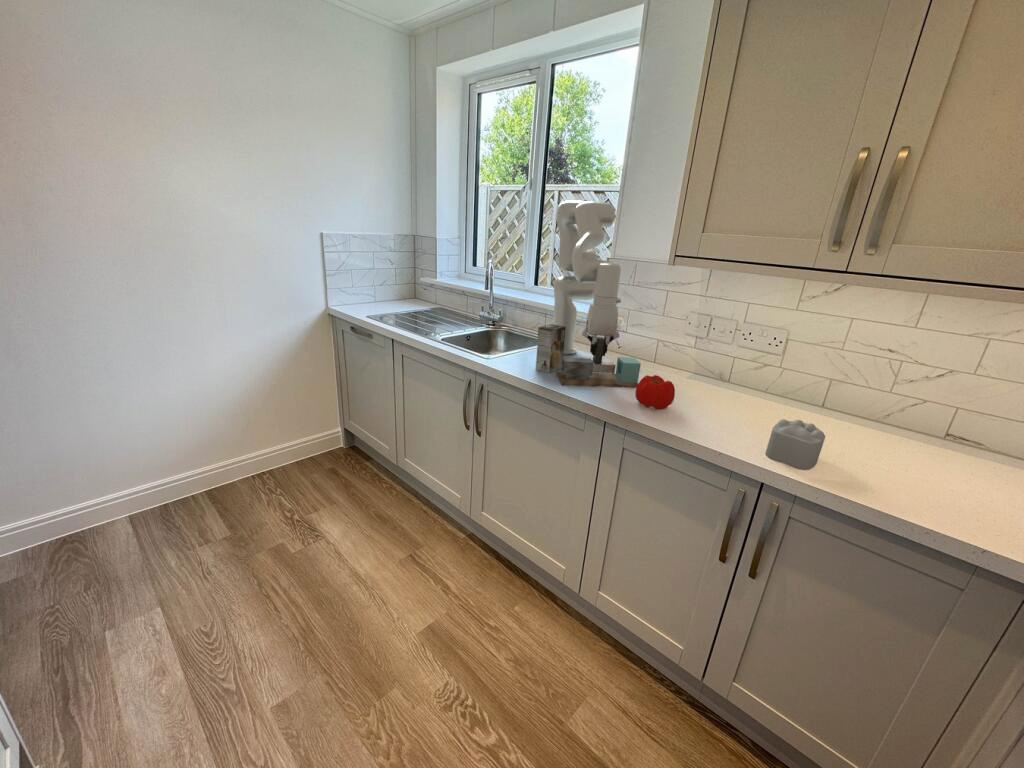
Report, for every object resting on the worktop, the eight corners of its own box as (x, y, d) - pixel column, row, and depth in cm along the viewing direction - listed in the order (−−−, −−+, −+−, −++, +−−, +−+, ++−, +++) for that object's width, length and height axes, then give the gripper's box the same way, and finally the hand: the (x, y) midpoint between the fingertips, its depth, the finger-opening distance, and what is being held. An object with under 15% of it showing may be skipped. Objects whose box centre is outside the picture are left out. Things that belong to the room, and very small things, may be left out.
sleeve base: (561, 385, 150) (563, 364, 148) (556, 373, 162) (558, 354, 159) (639, 388, 152) (642, 367, 150) (629, 376, 164) (632, 357, 161)
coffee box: (548, 364, 172) (551, 323, 167) (562, 368, 169) (566, 326, 164) (534, 369, 166) (538, 326, 160) (549, 373, 162) (553, 330, 157)
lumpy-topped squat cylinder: (760, 455, 110) (769, 424, 107) (777, 441, 119) (786, 411, 116) (808, 473, 103) (819, 439, 100) (823, 456, 112) (833, 425, 109)
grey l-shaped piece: (569, 371, 154) (572, 337, 150) (567, 368, 157) (571, 335, 153) (614, 373, 155) (619, 339, 151) (612, 370, 158) (616, 337, 154)
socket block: (620, 382, 154) (623, 362, 152) (615, 375, 160) (617, 357, 158) (637, 382, 154) (640, 363, 152) (631, 376, 161) (634, 357, 159)
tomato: (627, 400, 141) (631, 373, 138) (660, 399, 144) (665, 372, 141) (644, 414, 131) (649, 385, 128) (680, 412, 134) (685, 384, 131)
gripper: (625, 300, 152) (618, 352, 158) (578, 298, 151) (572, 350, 157) (632, 304, 145) (624, 358, 151) (582, 302, 143) (576, 356, 150)
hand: (598, 354), depth 154 cm, fingers open, 2 cm apart
